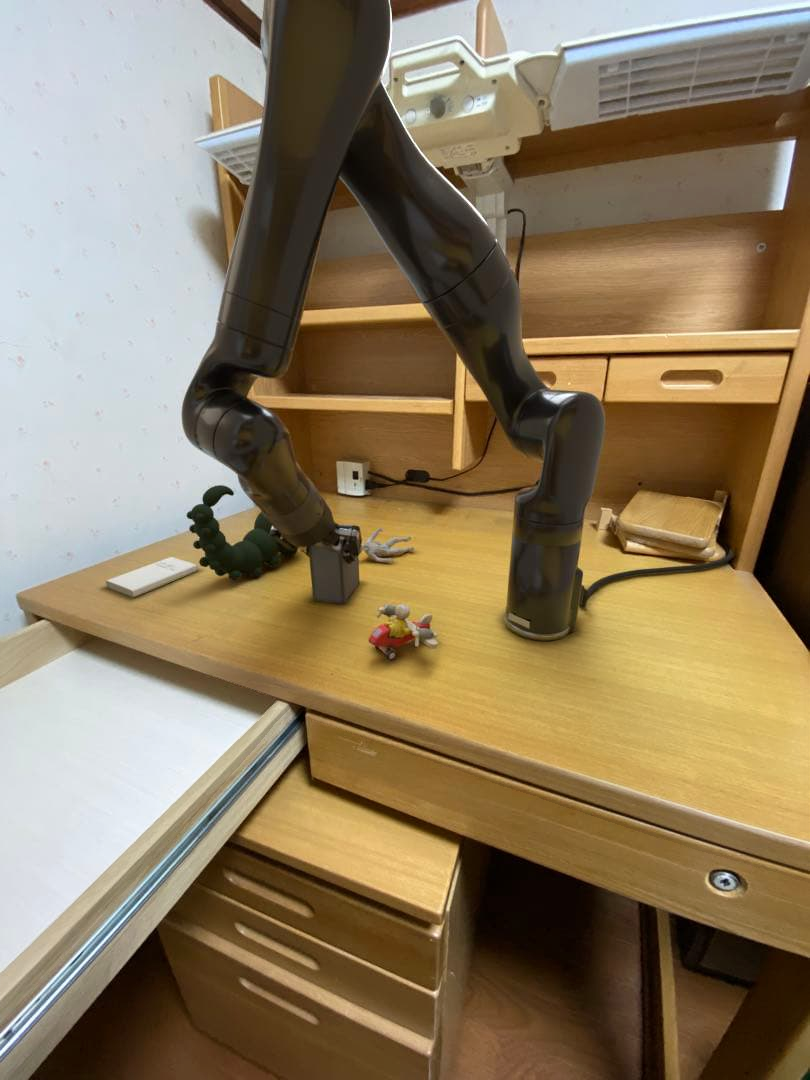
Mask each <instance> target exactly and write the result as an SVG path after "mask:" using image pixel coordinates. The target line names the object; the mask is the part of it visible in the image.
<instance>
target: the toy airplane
mask: <svg viewBox="0 0 810 1080" xmlns="http://www.w3.org/2000/svg"><path fill="white" fill-rule="evenodd" d="M410 613H411V609H410V607H409V606H408V605H407V604H403V603H402V604H398V605H397V606H395V605H391V603H390V602H388V603H387V604H386V605H383V606H381V607H379V608H378V613H377V614H376V618H377V619H379V618H381V616H382V615H384V616H386V617H388V622H383V624H382V623H381V624H380V625H378V626H377V627H376V628H375V629H374V630H373V631H372V633H371V634H370V636H369V637H368V643H370V644H371V645H372V646H374V649H375V650H377V651H382V652H383V653H384V654H385V658H386V659H387V660H388V661H389V660H390V661H393V660H394V659H395V658H396V657H397V652H396V650H395V649H393V648H397V647H400V646H402V645H403V644H406V643H409V642H410V641H412V640H414V646H415V647H416V648H418V647H419V646H420V642H422V643H423V644H424V645H425V646H427V647H429V648H431V649H437V648H438V644H439V643H438V641H437V640H436V639H437V636H438V634H437V633H436V632H434V631H433V630H431V629H430V628H431V623H432V619H433V615H432V614H431V613H426V614H425V615H423V616H422V617H421V618H420V619H419V621H418V620H415V621H410V620H409V619H408V618H409V617H410V615H411V614H410Z"/></svg>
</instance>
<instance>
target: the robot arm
mask: <svg viewBox="0 0 810 1080" xmlns="http://www.w3.org/2000/svg"><path fill="white" fill-rule="evenodd" d="M390 2H391V1H390V0H263V6H262V8H263V9H262V17H261V21H260V22H261V23H260V49H261V59H262V63H263V66H264V70H265V87H264V100H263V108H262V116H261V123H260V130H259V134H258V135H259V136H258V141H257V146H256V147H257V148H256V153H255V159H254V163H253V167H252V173H251V177H250V182H249V186H248V190H247V194H246V198H245V202H244V206H243V209H242V213H241V217H240V220H239V224H238V228H237V231H236V235H235V239H234V243H233V247H232V250H231V254H230V258H229V262H228V266H227V271H226V275H225V279H224V283H223V289H222V294H221V299H220V303H219V304H220V305H219V308H218V313H217V318H216V321H217V322H216V324H215V331H214V336H213V338H212V340H211V343H210V345H209V346H208V348H207V349H206V351H205V353H204V355H203V357H202V358H201V361H200V363H199V364H198V367H197V369H196V371H195V372H194V375H193V377H192V379H191V380H190V382H189V385H188V387H187V389H186V392H185V394H184V397H183V400H182V405H181V426H182V430H183V433H184V435H185V438H186V439H187V440H188V442H189V443H190V444H191V445H192V446H193V447H195V448H196V449H197V450H198V451H200V452H202V453H203V454H205V455H207V456H209V457H210V458H212V459H214V460H215V461H217V462H219V463H220V464H222V465H223V466H224V467H227V468H228V469H230V470H231V471H232V472H234V473H235V474H236V476H237V480H238V483H239V486H240V488H241V489H242V491H243V493H244V494H245V495H246V496H247V497H248V499H249V500H250V501H251V502H252V503H254V505H255V506H256V507H257V508H258V509H259V510H260V512H262V513H263V515H264V516H265V518H266V519H267V520H268V521H269V522H270V523H271V525H272V527H271V530H270V533H269V536H271V537H272V538H273V539H275V540H276V541H278V542H279V543H280V544H282V545H283V546H284V547H286V548H287V549H289V550H294V549H295V548H298V551H299V552H300V553H301V554H304V555H305V556H307V558H309V548H308V546H312V545H317V546H319V547H324V548H325V549H327V550H329V551H330V552H332V553H337V552H338V553H339V554H341V555H342V557H343V558H344V559H345V561H346V562H347V563H348V564H352V562H353V561H355V557H356V556H358V557H359V556H360V554H361V553H360V547H361V545H363V544H362V543H363V537H362V532H361V526H359V525H357V524H356V525H355V524H354V525H353V524H352V525H353V526H352V527H351V529H349V530H348V529H341V526H340V525H341V524H340V525H339V523H337V522H336V521H335V519H334V516H333V513H332V510H331V508H330V507H329V505H328V503H327V502H326V500H325V499H324V497H323V496H322V494H321V493H320V491H319V490H318V488H317V487H316V485H315V484H314V482H313V481H312V480H311V479H310V478H309V477H308V476H307V475H306V473H305V471H304V470H303V469H302V467H301V466H300V464H299V463H298V462H297V459H296V453H295V449H294V445H293V440H292V436H291V434H290V431H289V429H288V428H287V426H286V424H285V423H284V422H283V421H282V420H281V418H280V417H279V416H278V415H277V414H276V413H275V412H274V411H272V410H271V409H269V408H268V407H266V406H264V405H263V404H261V403H258V402H257V401H254V400H253V399H251V398H249V397H248V396H249V393H250V391H251V389H252V387H253V386H254V384H255V382H256V381H257V380H258V378H263V379H269V380H276V379H280V378H282V377H283V376H285V374H286V373H287V371H288V370H289V368H290V364H291V361H292V358H293V355H294V354H293V353H294V349H295V346H296V343H297V338H298V336H299V331H300V327H301V324H302V323H301V322H302V320H303V315H304V311H305V308H306V304H307V299H308V295H309V292H310V291H309V290H310V287H311V283H312V278H313V274H314V269H315V266H316V262H317V257H318V253H319V249H320V244H321V240H322V236H323V234H324V233H323V232H324V228H325V225H326V221H327V217H328V214H329V211H330V207H331V204H332V201H333V197H334V194H335V192H336V191H335V190H336V187H337V185H338V181H339V179H340V180H341V181H342V182H343V184H344V185H345V186H346V188H347V189H348V190H349V191H350V193H351V194H352V195H353V197H354V199H355V200H356V201H357V203H358V204H359V205H360V207H361V209H362V210H363V211H364V213H365V214H366V217H367V218H368V219H369V221H370V223H371V224H372V226H373V228H374V229H375V232H376V233H377V235H378V236H379V238H380V239H381V241H382V243H383V244H384V246H385V247H386V249H387V251H388V252H389V254H390V256H391V257H392V259H393V260H394V262H395V263H396V265H397V266H398V268H399V269H400V271H401V273H402V274H403V276H404V277H405V279H406V281H407V282H408V283H409V286H410V287H411V289H412V290H413V292H414V293H415V295H416V297H417V298H418V300H419V301H420V303H421V304H422V306H423V307H424V309H425V310H426V312H427V313H428V314H429V316H430V318H431V319H432V320H433V322H434V323H435V325H436V326H437V328H438V329H439V331H440V332H441V334H442V335H443V336H444V337H445V338H446V340H447V341H448V343H449V344H450V346H451V347H452V348H453V350H454V351H455V353H456V355H457V356H458V357H459V359H460V360H461V362H462V364H463V366H465V368H466V370H467V371H468V373H469V374H470V376H471V377H472V378H473V380H474V381H475V382H476V384H477V385H478V386H479V388H480V390H481V392H482V394H483V395H484V396H485V399H486V400H487V402H488V404H489V406H490V408H491V410H492V411H493V414H494V415H495V417H496V419H497V421H498V424H499V426H500V427H501V429H502V431H503V434H504V435H505V438H506V439H507V441H508V442H509V443H510V445H511V447H512V448H513V449H514V451H516V452H517V453H518V454H519V455H520V456H522V457H524V458H525V459H527V460H530V461H534V462H537V463H542V465H541V470H540V471H541V472H540V477H539V481H538V483H537V484H536V485H532V486H527V487H523V488H521V489H519V490H518V491H517V493H516V494H515V496H514V503H513V516H512V517H513V518H512V531H511V543H510V546H511V547H510V555H509V567H508V581H507V593H506V603H505V604H506V606H505V612H504V623H505V626H506V627H507V628H508V629H509V630H510V631H511V632H513V633H515V634H516V635H518V636H521V637H523V638H527V639H530V640H536V641H555V640H559V639H561V638H564V637H566V636H567V635H568V634H569V633H572V632H576V627H577V620H578V614H579V608H580V607H579V606H581V607H585V605H586V604H587V602H588V600H589V599H590V598H591V596H592V595H593V593H594V592H595V590H597V589H598V588H599V587H601V586H602V585H604V584H607V583H609V582H612V581H616V580H618V579H623V578H629V577H633V576H641V575H650V574H651V575H652V574H653V575H654V574H663V573H673V572H686V571H688V572H689V571H698V570H705V569H710V568H715V567H718V566H721V565H725V564H726V563H728V562H729V561H731V560H732V559H733V558H734V557H735V555H736V553H735V554H734V555H733V552H732V550H731V549H730V548H729V552H728V554H727V555H726V556H725V557H722V558H720V559H717V560H714V561H713V560H712V561H709V562H704V563H699V564H688V565H677V566H666V567H654V568H641V569H632V570H627V571H622V572H618V573H613V574H610V575H606V576H604V577H601V578H600V579H598V580H596V581H595V582H592V584H591V585H590V586H589V587H588V588H585V587H586V586H584V585H583V578H584V572H583V570H582V569H581V568H580V567H578V566H579V560H580V552H581V545H582V538H583V531H584V523H585V515H586V510H587V508H588V507H587V506H588V504H589V502H590V500H591V498H592V497H593V494H594V491H595V487H596V482H597V479H598V478H597V477H598V473H599V467H600V462H601V457H602V453H603V448H604V442H605V436H606V412H605V409H604V405H603V403H602V402H601V400H600V399H599V397H597V396H596V395H594V394H592V393H590V392H587V391H580V390H566V389H565V390H560V389H551V388H550V387H548V386H547V385H546V383H544V382H543V380H542V378H541V377H540V376H539V374H538V373H537V371H536V369H535V368H534V366H533V365H532V363H531V361H530V360H529V357H528V355H527V352H526V350H525V346H524V341H523V304H522V294H521V289H520V285H519V282H518V280H517V277H516V274H515V272H514V270H513V268H512V266H511V264H510V262H509V261H508V259H507V257H506V255H505V252H504V251H503V248H502V247H501V245H500V243H499V241H498V240H497V238H496V235H495V234H494V232H493V230H492V229H491V227H490V226H489V224H488V223H487V222H486V220H485V218H484V217H483V216H482V214H481V213H480V212H479V210H477V209H476V208H475V207H474V205H473V204H472V203H471V202H470V200H468V199H467V198H466V196H464V195H463V194H462V192H460V191H459V189H457V188H456V187H455V186H454V185H453V184H452V183H451V182H450V181H449V180H448V179H447V177H445V176H444V175H443V174H442V173H441V172H440V171H439V170H438V169H437V168H436V167H435V166H434V165H433V164H432V163H431V162H430V161H429V160H428V158H427V157H426V156H425V155H424V153H423V152H422V151H421V150H420V148H419V147H418V145H417V143H416V142H414V140H413V138H412V136H411V135H410V133H409V131H408V130H407V128H406V126H405V124H404V122H403V120H402V119H401V116H400V115H399V113H398V111H397V109H396V108H395V107H396V106H395V105H394V103H393V101H392V99H391V97H390V96H389V93H388V92H387V89H386V87H385V85H384V83H383V81H382V79H383V77H384V75H385V71H386V69H387V65H388V61H389V58H390V53H391V45H392V36H393V35H392V33H393V22H392V8H391V7H392V6H391V3H390ZM342 542H343V543H344V544H343V548H342ZM332 544H333V545H332ZM359 553H360V554H359Z"/></svg>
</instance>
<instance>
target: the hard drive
mask: <svg viewBox="0 0 810 1080" xmlns="http://www.w3.org/2000/svg"><path fill="white" fill-rule="evenodd" d="M198 571H199V570H198V565H197V564H196V563H193V562H189V561H186V560H183V559H179V558H177V557H173V556H170V557H169V556H168V557H167V558H164V559H161V560H159V561H155V562H153V563H150V564H147V565H145V566H142V567H140V568H136V569H134V570H131V571H129V572H126V573H123V574H120V575H118V576H115V577H112V578H110V579H106V580H105V585H106V587H107V588H108V589H109V590H112V591H114V592H116V593H119V594H122V595H125V596H127V597H130V598H137V597H139V596H141V595H144V594H146V593H148V592H150V591H154V590H155V589H158V588H160V587H162V586H165V585H167V584H170V583H172V582H174V581H177V580H179V579H182V578H184V577H186V576H189V575H192V574H193V573H195V572H198Z"/></svg>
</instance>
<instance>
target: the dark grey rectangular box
mask: <svg viewBox="0 0 810 1080" xmlns="http://www.w3.org/2000/svg"><path fill="white" fill-rule="evenodd" d="M338 524H339V523H338ZM339 525H340V526H341V529H348V530H349V529H351V527H352V526H353V524H339ZM343 544H344V543H343V542H342V548H343ZM332 545H333V544H332ZM308 548H309V557H308V559H309V569H310V570H309V571H310V580H311V581H310V582H311V592H312V601H313V602H322V603H332V604H340V605H346V604H347V602H348V601H349V599H351V597H352V596H353V594H354V593H355V591H356V590H357V588H358V587H359V586H360V585H361V584H360V582H361V581H360V563H359V561H360V560H359V556H356V557H355V561H353V562H352V564H348V563H347V562H346V561H345V559H344V558H343V557H342V555H341V554H339V553H338V552H337V553H332V552H330V551H329V550H327V549H325V548H324V547H319V546H317V545H312V546H308Z"/></svg>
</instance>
